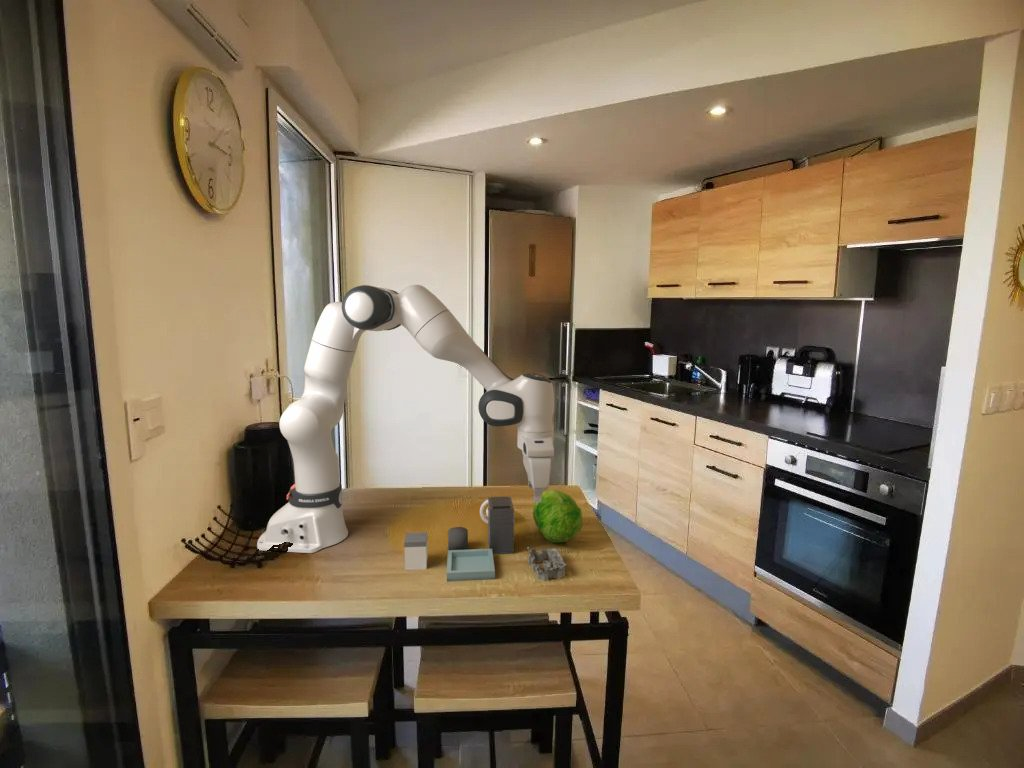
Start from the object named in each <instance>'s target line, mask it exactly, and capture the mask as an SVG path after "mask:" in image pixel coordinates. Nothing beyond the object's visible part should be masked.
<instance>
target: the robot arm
mask: <svg viewBox="0 0 1024 768" xmlns="http://www.w3.org/2000/svg"><path fill="white" fill-rule="evenodd" d="M400 326H402V327H404V328H405V329H406V330H407V332H409V333H410V335H411V336H412V337H413V339H415V341H416V342H417V344H418V345H419V346H420V347H421V348H422V349H423V350H424V351H426V352H427V353H428V354H430V355H431V357H433V358H435V359H437V360H442V361H446V362H447V361H448V362H451V363H453V364H454V363H455V364H457V365H459V366H461V367H463V368H464V369H465V370H467V371H468V372H469V373H470V374H471V375H472V377H473V378H475V380H476V381H477V382H478V383H479V384H480V385H481V386H482V387H483V388H484V390H486V391H485V392H484V393H483V394H482V396H481V397H480V398H479V401H478V405H477V406H478V407H477V408H478V409H477V410H478V413H479V416H480V417H481V420H483V421H484V423H486V424H487V425H489V426H492V427H498V428H499V427H509V426H513V425H514V426H515V425H516V426H517V433H516V435H517V436H516V439H517V442H516V446H517V448H518V449H519V450H521V452H522V453H521V454H522V463H523V466H524V469H525V471H526V475H527V486H528V488H529V489H531V490H533V495H532V497H533V498H532V499H533V502H534V504H535V503H540V502H541V501H542V493H543V492H544V491H547V490H548V488H549V487H550V482H551V481H550V479H551V471H552V470H551V469H552V457H554V456H555V446H554V441H555V440H554V437H555V435H554V433H555V432H554V431H555V427H554V422H553V416H554V414H555V391H554V390H555V389H554V386H553V382H552V381H551V379H550V378H549V377H547V376H545V375H543V374H538V373H531V372H525V373H522V374H521V375H519V376H518V377H516V378H515V379H514V378H512V377H510V376H508V375H507V374H505V373H504V372H503V371H502V370H501V369H500V368H499V366H498V365H496V364H495V362H493V359H491V358H490V357H489V356H488V355H487V354H486V353H485V352H484V351H483V350H482V348H480V346H479V345H478V344H477V343H476V342H475V341H474V339H473V338H472V337H471V336H470V334H468V332H467V331H466V330H465V328H464V326H462V324H461V322H459V321H458V319H457V318H456V317H455V315H454V314H453V313H452V312H451V310H450V309H449V308H448V307H447V306H446V305H445V304H444V303H443V302H442V301H441V300H440V298H438V297H437V296H436V295H435V294H434V293H433V292H431V291H430V290H429V289H428V288H426V287H425V286H423V285H421V284H413V285H409V286H407V287H405V288H403V289H402V290H401V291H400V292H398V291H395V290H393V289H390V288H387V287H383V286H379V285H378V286H373V285H368V284H366V285H365V284H363V285H362V284H361V285H358V286H354V287H353V288H351V289H350V290H348V291H347V292H346V293H345V295H344V297H343V298H342V301H333V302H330V303H328V304H326V306H325V307H324V308H323V311H322V312H321V314H320V316H319V318H318V320H317V323H316V326H315V328H314V330H313V334H312V337H311V341H310V344H309V347H308V352H307V356H306V359H305V362H304V365H303V371H304V388H303V392H302V395H301V397H300V398H299V399H297V400H295V401H294V402H293V401H292V402H291V403H290V404H289V405H288V406H287V407H286V409H285V410H284V411H283V413H282V414H281V416H280V418H279V423H278V424H279V431H280V433H281V435H282V436H283V437H284V438H285V440H287V444H288V446H289V449H290V453H291V457H292V461H293V471H294V484H293V485H292V486H290V489H289V491H288V493H287V494H286V501H288V502H287V503H285V505H283V506H282V507H280V508H279V509H278V510H277V511H275V513H273V515H272V516H271V517H270V519H269V521H268V522H267V525H266V530H265V531H264V532H263V533H262V534H261V535H260V536H259V537H258V539H257V542H256V543H257V544H256V548H257V550H258V549H259V551H265V552H267V550H269V549H270V548H271V547H272V546H273V545H279V544H282V543H284V542H290V543H293V545H292V546H291V547H288V551H287V552H286V553H300V554H301V553H303V554H312V553H316V552H319V551H321V550H322V549H324V548H327V547H330V546H331V547H332V546H334V545H336V544H338V543H340V542H342V541H343V540H345V539H346V538H347V537H348V535H349V530H348V528H347V525H346V522H345V521H346V520H345V517H344V513H343V507H342V505H343V501H344V499H343V489H342V483H341V482H340V464H339V463H340V461H339V460H340V459H339V455H338V453H337V452H336V449H335V446H334V443H333V439H332V429H334V428H335V427H336V426H337V425H338V424H339V423H340V421H341V419H342V418H343V414H344V411H345V401H346V397H347V396H346V395H347V387H348V381H349V376H350V373H351V369H352V366H353V363H354V359H355V355H356V351H357V348H358V344H359V342H360V338H361V337H362V335H363V334H364V332H366V331H370V332H381V331H391V330H395V329H397V328H399V327H400ZM274 548H278V547H274Z"/></svg>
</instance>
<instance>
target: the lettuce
mask: <svg viewBox="0 0 1024 768" xmlns="http://www.w3.org/2000/svg"><path fill="white" fill-rule="evenodd" d="M532 517H533V520H534V524H535V525H536V527H537V529H538V530H539V531H540V534H542V535H543V537H544V538H545V539H546V540H548V541H550V542H552V543H558V544H560V543H565V542H567V541H569V540H571V539H572V538H574V537H575V536H576V535H577V534H579V532H581V530H582V527H583V524H584V521H583V514H582V509H581V507H580V506H579V505H578V504H577V502H576V501H575V500H574V499H573V498H572V497H571V496H570V495H569V494H567V493H565V492H563V491H560V490H555V489H549V490H544V491H543V492H542V501H541V502H540V503H535V502H534V505H533V509H532Z"/></svg>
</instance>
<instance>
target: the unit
mask: <svg viewBox="0 0 1024 768" xmlns="http://www.w3.org/2000/svg"><path fill="white" fill-rule="evenodd" d="M487 500H488V504H487V507H488V516H487V520H488V524H487V526H488V527H487V537H488V538H487V541H488V542H487V543H488V549H492V552H493V555H504V554H507V555H509V554H510V555H511V554H514V543H515V541H514V534H515V533H514V532H515V531H514V528H515V509H514V508H515V507H514V504H513V500H512V496H490V497H487Z"/></svg>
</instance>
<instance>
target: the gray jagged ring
mask: <svg viewBox="0 0 1024 768" xmlns="http://www.w3.org/2000/svg"><path fill="white" fill-rule="evenodd" d="M526 548H527V551H528V553H529V554H528V556H527V563H528V566H531V570H532V572H533V573H536V579H537V580H541V581H543V582H547V580H548V581H549V579H551V578H554V577H555V579H557V580H562V579H563V577H565V574H566V566H567V563H566V562H565V561H564V558H563V557H562V555H561V554H560V552H559V550H558V549H557V548H546V549H543V548H541V549H540V551H536V549H535V548H534V547H533V548H530V547H529V546H527V547H526ZM547 559H548V560H547ZM536 562H542V563H537V564H536ZM541 568H542V570H540V569H541ZM550 577H551V578H550ZM548 578H549V579H548Z"/></svg>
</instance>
